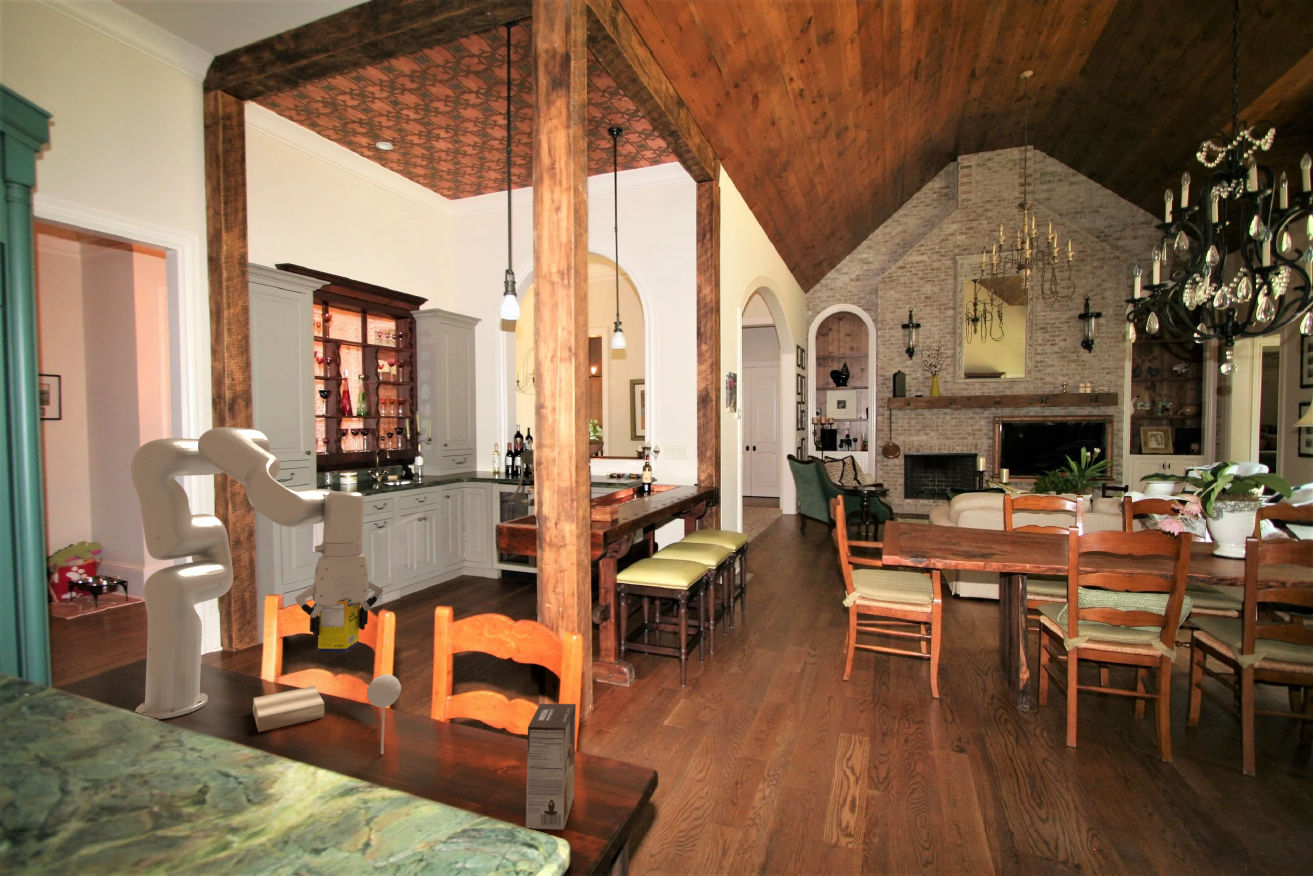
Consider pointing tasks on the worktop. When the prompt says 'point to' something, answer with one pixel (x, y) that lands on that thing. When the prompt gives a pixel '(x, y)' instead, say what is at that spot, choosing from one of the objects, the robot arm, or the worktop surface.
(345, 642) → the supplement box
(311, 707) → the block
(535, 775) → the coffee box
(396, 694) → the lollipop
